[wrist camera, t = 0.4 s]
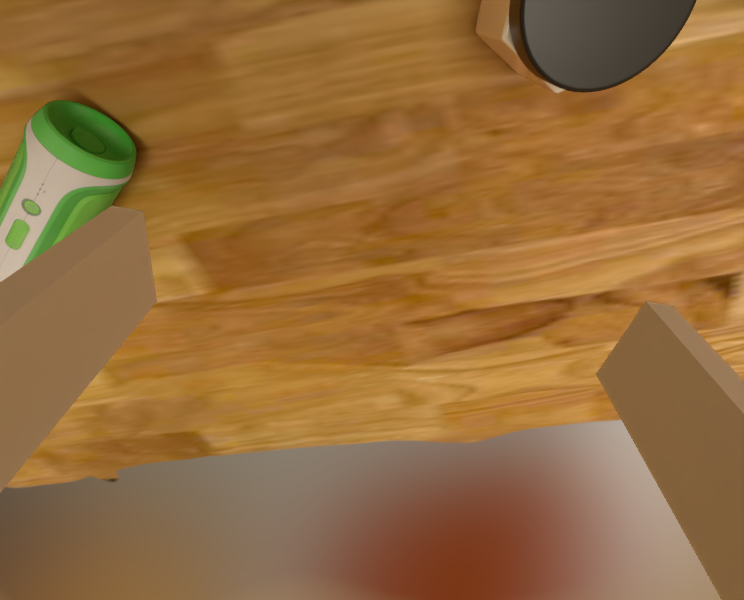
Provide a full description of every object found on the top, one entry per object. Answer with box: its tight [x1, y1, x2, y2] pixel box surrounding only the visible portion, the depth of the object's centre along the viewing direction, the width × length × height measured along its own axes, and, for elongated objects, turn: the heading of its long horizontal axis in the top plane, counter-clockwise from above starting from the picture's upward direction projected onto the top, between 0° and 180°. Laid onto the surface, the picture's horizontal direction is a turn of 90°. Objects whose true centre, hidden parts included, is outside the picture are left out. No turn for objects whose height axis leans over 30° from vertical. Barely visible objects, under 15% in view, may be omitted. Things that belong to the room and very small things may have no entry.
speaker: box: [0, 100, 137, 282], centre depth 36 cm, size 18×7×8 cm, turn 136°
